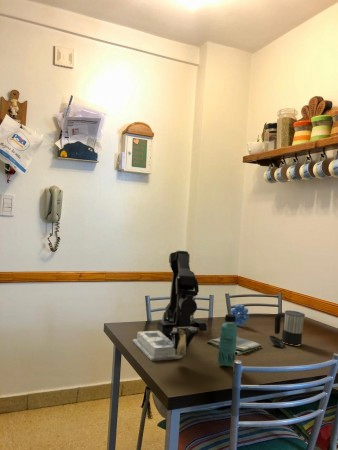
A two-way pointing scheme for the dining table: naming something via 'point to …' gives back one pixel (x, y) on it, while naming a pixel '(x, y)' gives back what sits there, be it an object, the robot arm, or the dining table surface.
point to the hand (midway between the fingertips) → (180, 348)
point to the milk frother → (289, 328)
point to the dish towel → (238, 345)
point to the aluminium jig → (155, 346)
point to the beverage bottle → (228, 341)
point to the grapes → (240, 314)
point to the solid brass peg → (181, 344)
